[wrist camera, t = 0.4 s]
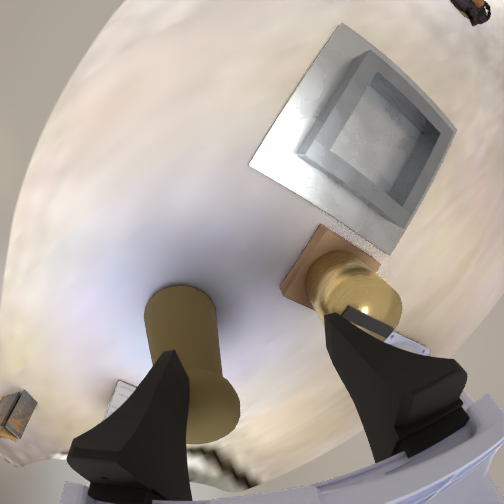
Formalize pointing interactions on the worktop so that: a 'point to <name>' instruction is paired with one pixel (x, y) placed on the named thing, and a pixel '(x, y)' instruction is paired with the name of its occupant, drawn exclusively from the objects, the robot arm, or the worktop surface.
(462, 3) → the bread roll
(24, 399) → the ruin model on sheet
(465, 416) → the robot arm
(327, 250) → the stand
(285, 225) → the worktop surface
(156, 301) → the cork
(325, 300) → the slotted brass cylinder
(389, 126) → the grey square tray
